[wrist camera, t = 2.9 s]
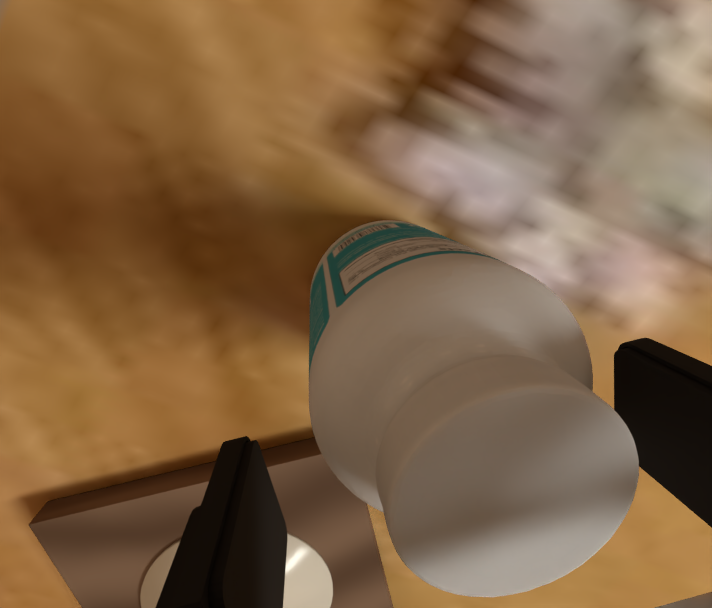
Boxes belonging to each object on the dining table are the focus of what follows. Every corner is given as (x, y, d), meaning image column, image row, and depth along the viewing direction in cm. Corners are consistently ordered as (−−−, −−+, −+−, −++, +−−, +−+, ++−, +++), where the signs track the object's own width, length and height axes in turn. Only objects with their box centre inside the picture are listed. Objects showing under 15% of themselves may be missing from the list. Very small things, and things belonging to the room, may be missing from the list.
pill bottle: (400, 381, 21) (529, 688, 9) (282, 315, 19) (220, 582, 7) (484, 268, 20) (796, 438, 7) (365, 184, 18) (492, 207, 5)
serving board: (47, 501, 21) (25, 528, 20) (347, 429, 22) (350, 449, 20) (160, 686, 27) (150, 719, 25) (398, 625, 27) (403, 654, 26)
